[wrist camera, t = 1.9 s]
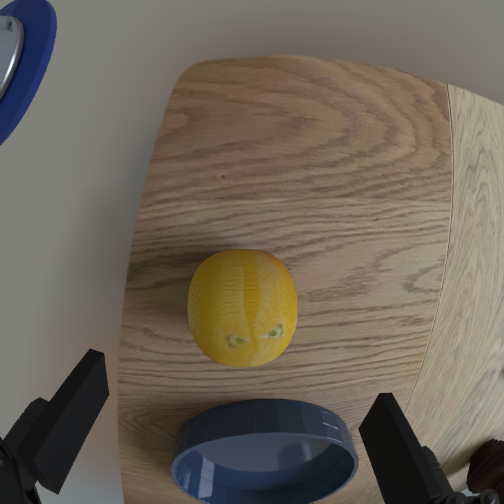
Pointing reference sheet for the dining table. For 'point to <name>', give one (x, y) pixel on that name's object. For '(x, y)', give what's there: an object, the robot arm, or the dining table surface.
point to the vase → (487, 469)
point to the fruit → (242, 307)
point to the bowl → (264, 454)
